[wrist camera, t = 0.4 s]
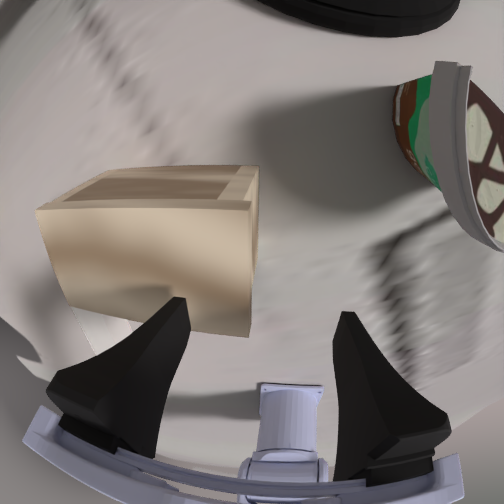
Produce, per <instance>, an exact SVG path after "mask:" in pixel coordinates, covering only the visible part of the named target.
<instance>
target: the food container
mask: <svg viewBox="0 0 504 504" xmlns="http://www.w3.org/2000/svg"><path fill="white" fill-rule="evenodd" d="M472 69H473V67H472V66H461V65H460V64H459V63H458V62H446V61H436V62H435V66H434V70H433V74H431V75H428V76H425V77H422V78H418V79H415V80H412V81H409V82H406V83H403V84H400V85H397V88H396V92H395V95H394V98H393V119H392V121H393V125H394V129H395V134H396V139H397V142H398V144H399V146H400V148H401V150H402V152H403V154H404V156H405V158H406V159H407V160H408V161H409V163H410V164H411V165H412V166H413V167H414V168H415V169H416V170H417V171H418V172H419V173H420V174H422V175H423V176H424V177H425V178H426V179H428V180H429V181H430V182H431V183H432V184H433V185H435V186H436V187H437V188H438V189H439V190H440V191H441V192H442V193H443V196H444V199H445V201H446V203H447V205H448V207H449V209H450V211H451V213H452V215H453V217H454V218H455V219H456V221H457V222H458V223H459V225H460V226H461V227H462V229H464V230H465V231H466V232H467V233H468V234H469V235H470V236H471V237H473V238H475V239H476V240H478V241H480V242H481V243H483V244H485V245H487V246H489V247H491V248H492V249H494V250H496V251H499V252H502V253H504V113H503V112H502V111H501V110H500V109H499V108H498V107H497V106H496V105H495V103H494V102H493V101H492V100H491V99H490V98H489V97H488V96H487V95H486V94H485V93H484V92H483V91H482V90H481V89H480V88H479V87H478V86H476V85H475V84H474V83H473V82H472V81H471V80H470V78H471V74H472Z"/></svg>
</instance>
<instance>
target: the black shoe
mask: <svg viewBox="0 0 504 504" xmlns="http://www.w3.org/2000/svg"><path fill="white" fill-rule="evenodd" d="M258 1H260V2H262V3H264V4H266V5H268V6H270V7H272V8H275V9H277V10H279V11H281V12H283V13H285V14H287V15H290V16H293V17H296V18H299V19H302V20H305V21H307V22H310V23H312V24H316V25H320V26H324V27H328V28H332V29H335V30H339V31H342V32H349V33H356V34H362V35H367V36H383V37H402V36H411V35H419V34H422V33H425V32H428V31H431V30H434V29H437V28H438V27H440V26H441V25H443V24H444V23H446V22H447V21H449V20H450V19H451V17H452V16H453V15H454V13H455V12H456V10H457V9H458V6H459V3H460V0H258Z"/></svg>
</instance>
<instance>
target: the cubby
mask: <svg viewBox="0 0 504 504" xmlns="http://www.w3.org/2000/svg"><path fill="white" fill-rule="evenodd" d="M258 204H259V166H243V165H190V166H161V167H143V168H129V169H117V170H108V171H106V172H104V173H102V174H100V175H98V176H96V177H95V178H93V179H91V180H89V181H87V182H85V183H83V184H81V185H80V186H78V187H76V188H74V189H72V190H71V191H69V192H67V193H65V194H64V195H62V196H60V197H59V198H57V199H55V200H54V201H52V202H50V203H46V204H44V205H42V206H41V207H39V208H38V209H36V210H35V214H36V217H37V221H38V224H39V228H40V231H41V234H42V238H43V241H44V244H45V247H46V250H47V253H48V255H49V258H50V261H51V264H52V266H53V269H54V271H55V274H56V276H57V279H58V281H59V284H60V286H61V288H62V291H63V293H64V295H65V298H66V300H67V302H68V304H69V306H72V307H75V308H79V309H83V310H87V311H91V312H95V313H100V314H104V315H108V316H113V317H117V318H122V319H127V320H132V321H137V322H142V323H145V322H146V321H147V320H148V319H149V318H150V317H152V316H153V315H154V314H155V313H156V312H157V311H158V310H159V309H160V308H162V307H163V306H164V305H165V304H166V303H167V302H168V301H169V300H170V299H171V298H173V297H174V296H175V297H183V298H186V302H187V308H188V313H189V319H190V324H191V331H196V332H204V333H211V334H219V335H228V336H237V337H247V338H249V333H250V328H251V299H252V284H253V279H254V274H255V269H256V264H257V259H258Z"/></svg>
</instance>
